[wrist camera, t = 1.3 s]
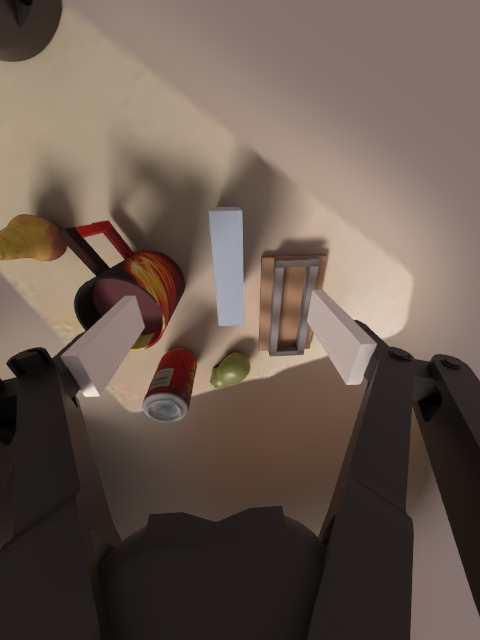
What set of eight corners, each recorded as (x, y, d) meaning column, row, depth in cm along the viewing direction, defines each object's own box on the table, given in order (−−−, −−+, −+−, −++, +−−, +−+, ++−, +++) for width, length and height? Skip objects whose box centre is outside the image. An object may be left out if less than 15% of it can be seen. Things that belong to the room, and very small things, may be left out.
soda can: (155, 354, 41) (129, 408, 30) (184, 339, 39) (168, 390, 29) (177, 375, 44) (161, 431, 34) (204, 363, 43) (196, 416, 32)
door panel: (216, 207, 28) (208, 211, 18) (237, 206, 28) (242, 210, 18) (222, 288, 34) (218, 326, 24) (239, 287, 35) (244, 325, 24)
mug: (109, 217, 28) (41, 227, 18) (195, 274, 33) (180, 308, 23) (87, 272, 32) (20, 306, 22) (168, 316, 37) (144, 362, 27)
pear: (256, 377, 38) (223, 398, 43) (256, 356, 42) (226, 377, 47) (232, 364, 36) (201, 387, 41) (234, 342, 40) (206, 366, 45)
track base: (261, 256, 32) (264, 261, 30) (324, 254, 32) (332, 259, 30) (258, 347, 41) (260, 356, 39) (307, 345, 41) (312, 354, 39)
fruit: (62, 210, 28) (-37, 217, 17) (82, 253, 31) (8, 281, 20) (21, 215, 28) (-101, 224, 18) (46, 257, 31) (-47, 287, 20)
